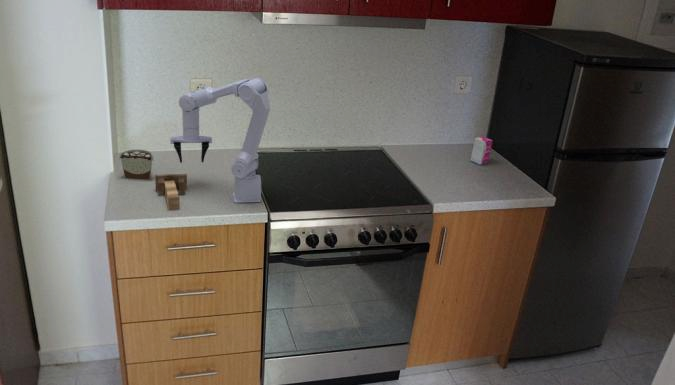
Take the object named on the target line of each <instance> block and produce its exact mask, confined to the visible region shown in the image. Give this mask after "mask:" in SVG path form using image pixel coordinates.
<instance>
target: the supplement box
mask: <svg viewBox="0 0 675 385" xmlns="http://www.w3.org/2000/svg"><path fill="white" fill-rule="evenodd" d="M493 141H494V140H493V139H490V138H488V137H486V136H479V137H475V139H474V143H473V146H472V152H471V157H470V161H471V163H473V164H475V163H476V164H475V165H477V164H478V166H484V165H487V164H488V162H489V158H490V155H491V150H492V145H493ZM470 161H469V162H470Z"/></svg>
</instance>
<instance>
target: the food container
mask: <svg viewBox="0 0 675 385" xmlns="http://www.w3.org/2000/svg"><path fill="white" fill-rule="evenodd" d="M118 159H119V160H121V161H120V162H121V165H122V170H123V178H124V180H133V181H149V182H150V181H151V179H152V165H153V164H152V163H153V162H154V160H155V158H154V155H153V153H152V152H150V151H149V150H146V149H130V150H125V151H123V152H121V153H120V155H119V158H118Z"/></svg>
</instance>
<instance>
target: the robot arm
mask: <svg viewBox="0 0 675 385" xmlns="http://www.w3.org/2000/svg"><path fill="white" fill-rule="evenodd" d="M268 93H269V86H268V85H267V83H266V82H265V80H263V78H261V77H257V76H256V77H253V78H245V79H241V80H237V81H234V82H231V83H229V84H225V85H223V86H220V87H217V88H214V87H212V86H207V85H204V86H202V87H201V88H200V89H197V90H196V89H194V90H191V91H190V92H187V93H186V94H183V95H181V96H180V97H179V100H178V105H179V107H180V108H181V111H182V135H179V136H170V137H169V139H170V140H169V141H170V144H172V145H173V147H174V149H175V151H176V154H177V156H178V159H179V163H180V164H182V163H183V157H182V144H201V155H200V158H201V163H204V161H205V156H206V154H207V151H208V150H209V147H210V144H213V138H212V136H205V135H200V108H202V107H205V106H209V105H212V104H215V103H216V102H217V100H218V98H223V97H227V96H230V95H234V96H235V97H237V98H239V99H240V100H242V101H243V102H244V103H245V105H247V106H248V107H249V108H250V109H251V110H252V114H251V117H250V121H249V124H248V128H247V131H246V134H245V137H244V142H243V144H242V148H241V151H240V153H239V154H238V155H237V157H236V160H235V162H233V163H232V165H231V173H232V175H233V176H234V192H232V198H233V201H234V203H235V204H238V203H241V204H242V203H243V204H244V203H261V202H262V176H261V175H260V174H256V170H257V169H258V168H259V154H258V150H259V147H260V144H261V143H260V142H261V139H262V136H263V134H264V131H265V127H266V124H267V121H268V118H269V117H268V116H269V113H270V110H271V106H270V100H269V94H268Z"/></svg>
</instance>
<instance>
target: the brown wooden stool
mask: <svg viewBox="0 0 675 385" xmlns="http://www.w3.org/2000/svg"><path fill="white" fill-rule="evenodd" d="M187 174H188V173H174V174H173V173H170V174H169V173H168V174H167V173H166V174H163V173H162V174H155V175H154V180H155V182H154V183H155V192H158V196H159V197H163V196H165V192H164V181H171V180H174V182H175V185H176V188H177V191H178V195H179V196H184V195H185V196H186V194H185V191H188V175H187Z"/></svg>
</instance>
